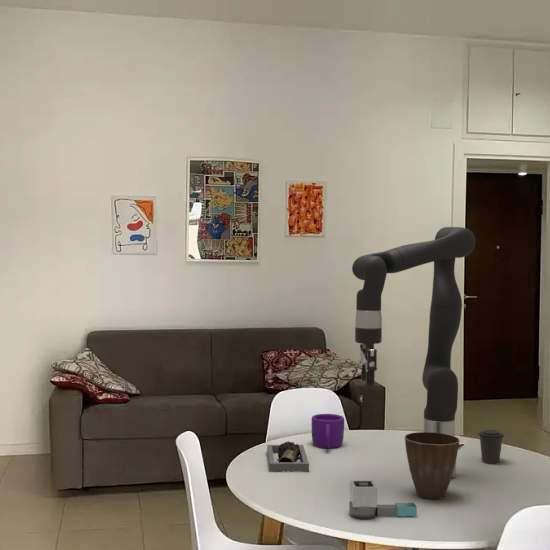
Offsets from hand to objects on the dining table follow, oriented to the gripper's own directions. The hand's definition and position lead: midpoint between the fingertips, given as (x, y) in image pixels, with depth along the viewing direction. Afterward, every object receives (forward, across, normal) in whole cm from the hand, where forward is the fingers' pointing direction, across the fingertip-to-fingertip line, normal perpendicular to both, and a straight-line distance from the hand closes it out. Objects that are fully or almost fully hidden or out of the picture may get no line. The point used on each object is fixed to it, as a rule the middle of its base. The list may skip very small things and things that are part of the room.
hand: (367, 382), depth 218 cm
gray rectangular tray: (+30, +27, +21) cm, 46 cm away
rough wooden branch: (+30, +26, +21) cm, 45 cm away
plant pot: (+30, -7, -17) cm, 35 cm away
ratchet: (+30, -23, 0) cm, 38 cm away
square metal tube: (+27, -23, +5) cm, 36 cm away
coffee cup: (+30, +27, -45) cm, 61 cm away
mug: (+30, +45, +6) cm, 55 cm away
